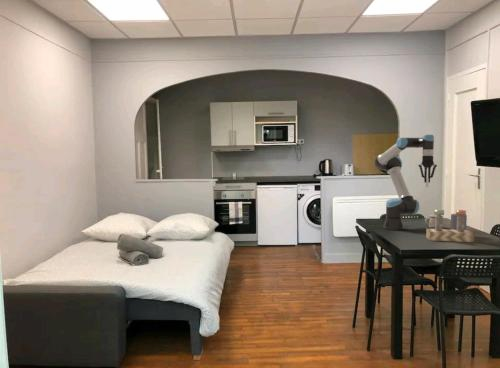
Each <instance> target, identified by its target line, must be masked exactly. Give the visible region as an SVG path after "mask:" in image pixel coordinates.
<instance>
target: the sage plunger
mask: <svg viewBox="0 0 500 368" xmlns="http://www.w3.org/2000/svg"><path fill="white" fill-rule="evenodd" d="M434 213H435V215H438V217H441V216H444V215H445V209H434Z"/></svg>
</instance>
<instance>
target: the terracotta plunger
mask: <svg viewBox="0 0 500 368" xmlns="http://www.w3.org/2000/svg"><path fill="white" fill-rule="evenodd" d="M455 214H456V215H459V217H463V216H465V215H467V210H463V209H456V210H455Z"/></svg>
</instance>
